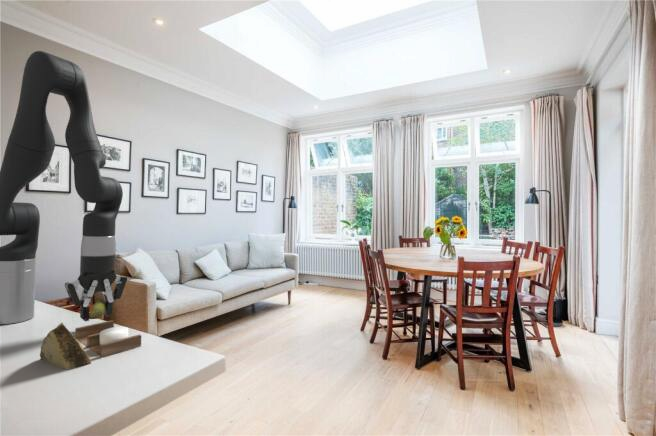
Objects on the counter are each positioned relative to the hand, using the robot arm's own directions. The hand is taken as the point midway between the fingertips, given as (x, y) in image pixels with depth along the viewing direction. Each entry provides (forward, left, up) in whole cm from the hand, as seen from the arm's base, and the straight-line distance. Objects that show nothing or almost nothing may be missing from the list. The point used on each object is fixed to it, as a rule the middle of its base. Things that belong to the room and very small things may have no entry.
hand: (96, 317), depth 87 cm
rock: (+16, -11, -4) cm, 19 cm away
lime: (0, 0, 0) cm, 0 cm away
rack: (+11, -1, -4) cm, 12 cm away
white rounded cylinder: (+15, -1, -3) cm, 15 cm away
